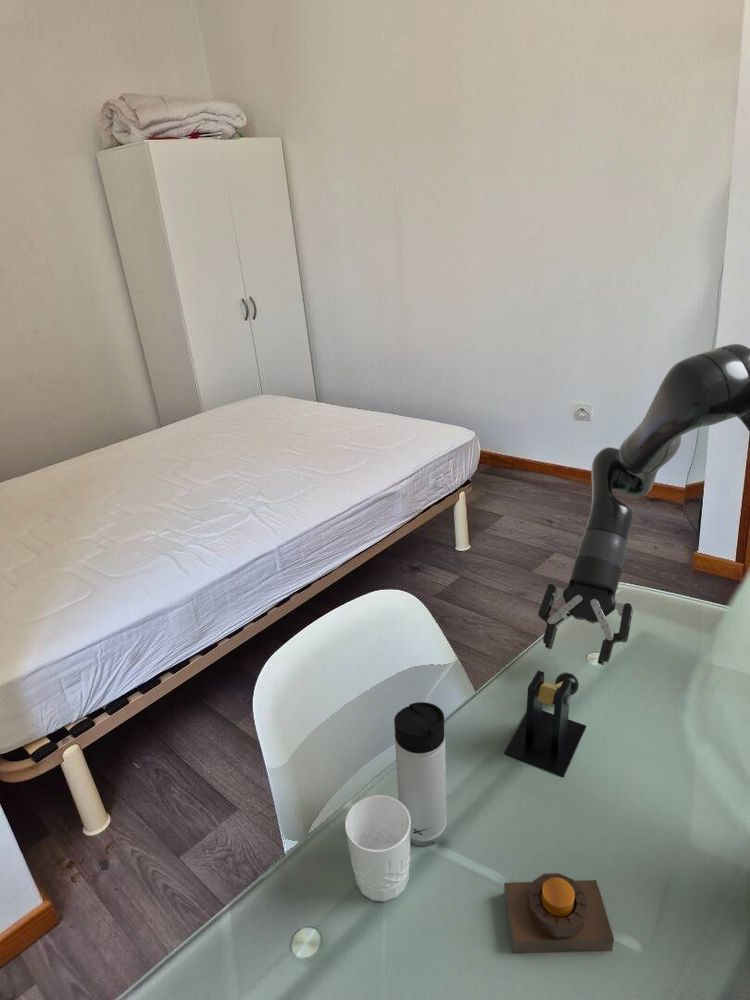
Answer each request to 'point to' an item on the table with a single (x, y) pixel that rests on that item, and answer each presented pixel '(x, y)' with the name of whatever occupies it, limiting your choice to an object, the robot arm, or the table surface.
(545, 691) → the switch lever
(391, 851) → the white cup
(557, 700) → the switch bracket
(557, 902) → the button
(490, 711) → the table surface
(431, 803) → the travel mug
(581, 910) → the switch plate
